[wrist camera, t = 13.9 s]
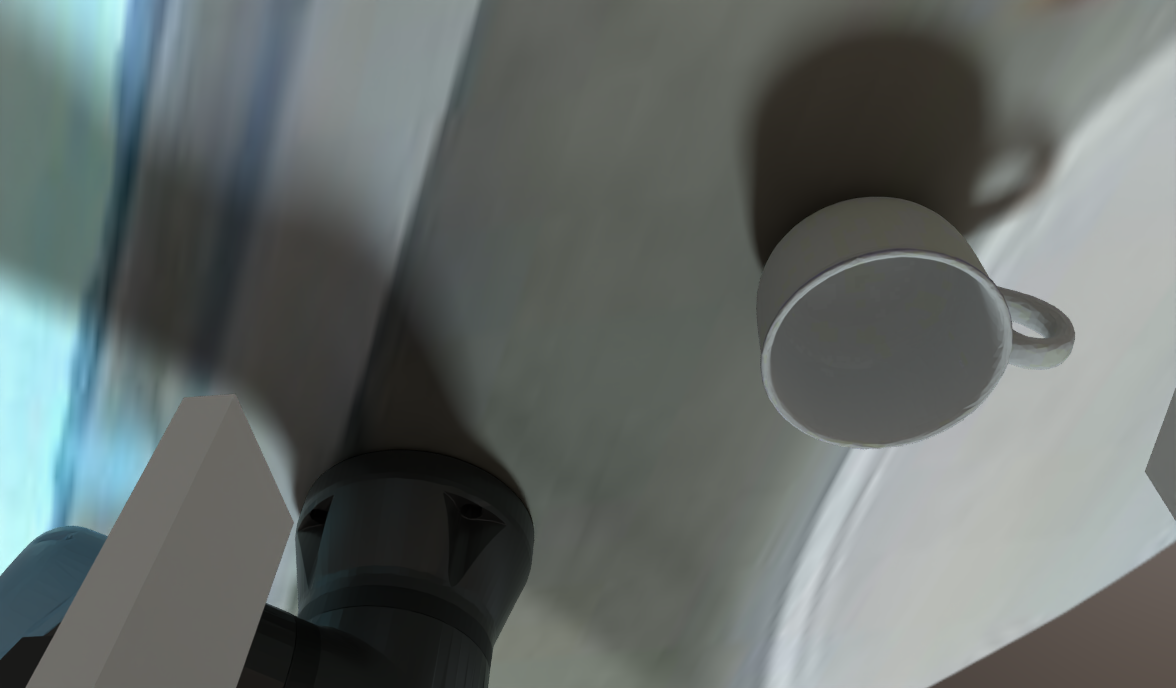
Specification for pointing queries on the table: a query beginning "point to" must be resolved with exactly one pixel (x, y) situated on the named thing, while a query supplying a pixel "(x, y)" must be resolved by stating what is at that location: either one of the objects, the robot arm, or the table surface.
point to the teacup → (890, 325)
